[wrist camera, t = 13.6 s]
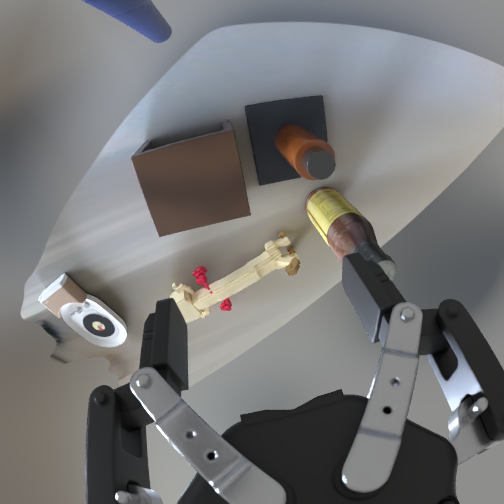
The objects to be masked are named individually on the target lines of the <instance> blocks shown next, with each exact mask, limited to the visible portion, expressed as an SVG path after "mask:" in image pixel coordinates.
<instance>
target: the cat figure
mask: <svg viewBox="0 0 504 504" xmlns="http://www.w3.org/2000/svg"><path fill="white" fill-rule="evenodd" d="M278 234H279V236H280V238H281V239H277V240H276V241H269V242H267V243H265V246H264V247H265V249H266V251H264V252H262V254H261V255H259V256H257V257H256V258H254V259H252V260H251V261H249V262H247V263H246V265H244V266H243V267H241V268H239V269H237V270H236V271H234V272H232V273H230V274H229V275H227V276H225V277H224V278H222V279H220V280H216V281H215V282H213V283H211V284H210V285H208V283H207V282H206V281H207V277H206V275H205V272H206V271H207V269H205V267H202V266H201V267H198V268H197V270H195V271H194V272H193V275H194V276H195V277H196V278H197V280H196V281H197V283H198V285H200V284H201V285H202V284H204V286H205V287H204V288H201V289H199V290H197V291H194V290H193V289H192V288H191V287H190V286H189V285H188V286H187V285H186V284H182V283H181V284H180V285H178V284H176V283H173V284H172V288H173V289H174V290H175V292H173V293H171V295H170V298H173V299H174V300H175V302H176V304H177V306H178V308H179V309H180V311H181V313H182V315H183V317H184V319H185V322H188V323H189V322H191V321H193V320H195V319H197V318H199V317H200V316H201V317H202V318H203V319H204V318H206V316H207V315H208V314H210V308H209V307H210V306H212V305H213V304H215V303H217V302H219V301H220V300H221V301H222V300H223V301H224V303H222V304H221V306H220V308H221V310H224V311H225V310H226V311H227V310H228V311H230V310H231V306H232V304H231V302H230V300H229V297H230V296H232V295H233V294H235V293H237V292H239V291H241V290H242V289H244V288H246V287H248V286H249V285H251V284H253V283H255V282H256V281H258V280H260V279H262V278H261V277H263V276H264V275H266V274H268V273H270V272H271V271H273V270H275V269H278V270H279V269H281V268H283V267H284V266H286V267H287V268H286V271H287V273H288V275H289V276H290V275H291V276H293V275H295V274H297V271H298V269H299V267H300V266H299V264H300V262H299V260H298V259H299V258H298V256H297V254H296V253H295V251H294V249H293V248H292V246H291V247H289V248H287V250H288V252H289V253H290V254H289V255H288V254H287V255H285V256H284V257H283V255H282V254H281V252H280V250H279V249H278V248H279V247H283V246H287V245H289V244H290V241H289V239H288V238H287V236H286V235H285V233H284V231H283V230H282V231H281V232H279V233H278ZM287 265H288V266H287ZM202 309H204V311H203V310H202Z"/></svg>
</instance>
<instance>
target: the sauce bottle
mask: <svg viewBox="0 0 504 504" xmlns="http://www.w3.org/2000/svg"><path fill="white" fill-rule="evenodd" d="M305 208H306V211H307V213H308V216H309V218H310V220H311V221H312V223H313V224H314V225H315V227H316V228H317V230H318V231H319V233H320V234H321V235H322V237H323V238H324V240H325V241H326V243H327V244H328V246H329V247H330V248H331V249H332V250H333V252H334V253H335V255H336V256H337V257H338V258H339V259H340V260H341V261H343V256H345V255H348V254H352V253H356V252H359V253H360V254H361V255H362V256H363V258H364V259H365V260H366V261H368V260H372V261H374V262H376V263H377V264H379V265H380V266H381V267H382V269H383V270H384V271H385V274H387V276H388V277H389V278H390V280H392V279H393V278H394V276H395V274H396V265H395V262H394V261H393V260H392V259H391V257H390V256H388V255H386V254H385V253H384V252H383V251H382V250H381V249H380V247H379V245H378V244H377V240H376V237H375V233H374V230H373V227H372V225H371V224H370V222H369V221H368V220H367V219H366V218H365V217H364V216H363V215H362V214H361V213H360V212H359V211H358V210H357V209H356V208H355V207H353V206H352V205H351V204H350V203H349V202H348V201H347V200H346V199H345V198H344V197H343V196H342V195H341V194H340V193H338V192H337V191H335V190H333V189H331V188H327V187H322V188H318V189H316V190H314V191H313V192H311V193H310V194H309V196H308V198H307V201H306V206H305Z"/></svg>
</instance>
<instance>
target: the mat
mask: <svg viewBox="0 0 504 504" xmlns="http://www.w3.org/2000/svg"><path fill="white" fill-rule="evenodd" d="M245 110H246V115H247V120H248V125H249V131H250V136H251V141H252V147H253V152H254V157H255V163H256V168H257V174H258V179H259V185H265V184H270V183H275V182H280V181H285V180H290V179H295V178H300V177H302V176H301V175H300V174H299V173H298V172H297V171H296V170H295V169H294V168H293V166H292V165H291V164H290V163H289V162H288V161H287V160H286V159H285V158H284V156H283V155H282V154H281V153H280V152H279V151H278V150H277V148H276V146H275V136H276V134H277V132H278V131H279V129H281V128H282V127H283V126H286V125H290V124H294V125H298V126H300V127H301V128H303V129H305V130H307V131H308V132H310V133H312V134H313V135H315V136H317V137H318V138H320V139H322V140H323V141H325V142H326V143H327V132H326V122H325V113H324V104H323V96H311V97H302V98H294V99H286V100H279V101H272V102H266V103H260V104H254V105H248V106H245Z"/></svg>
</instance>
